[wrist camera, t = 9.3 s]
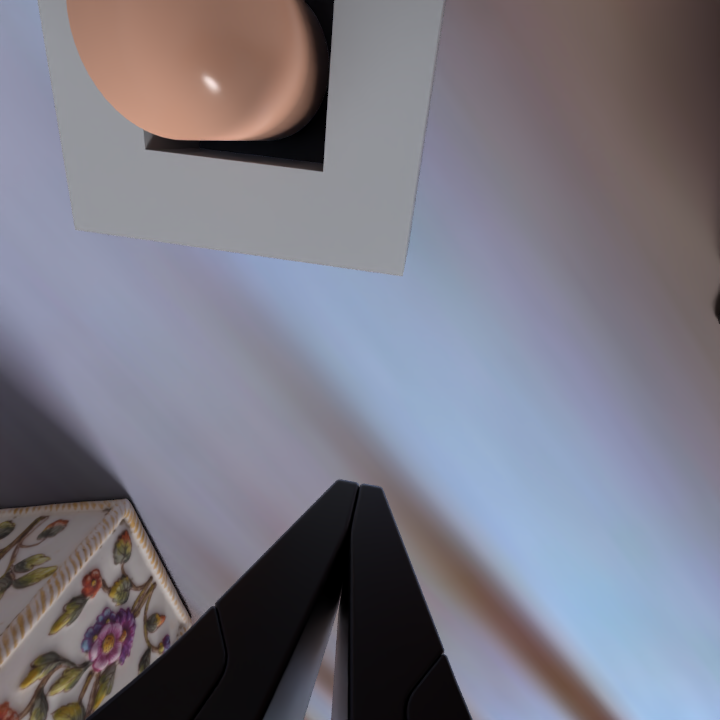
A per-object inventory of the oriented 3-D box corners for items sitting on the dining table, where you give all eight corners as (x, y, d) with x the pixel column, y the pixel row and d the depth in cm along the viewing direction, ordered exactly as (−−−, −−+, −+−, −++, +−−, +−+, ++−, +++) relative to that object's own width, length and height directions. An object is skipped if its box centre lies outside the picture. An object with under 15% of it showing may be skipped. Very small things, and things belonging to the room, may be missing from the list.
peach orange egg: (334, -15, 15) (273, -115, 9) (324, 148, 17) (268, 151, 11) (193, -28, 15) (47, -132, 9) (199, 132, 17) (83, 128, 12)
